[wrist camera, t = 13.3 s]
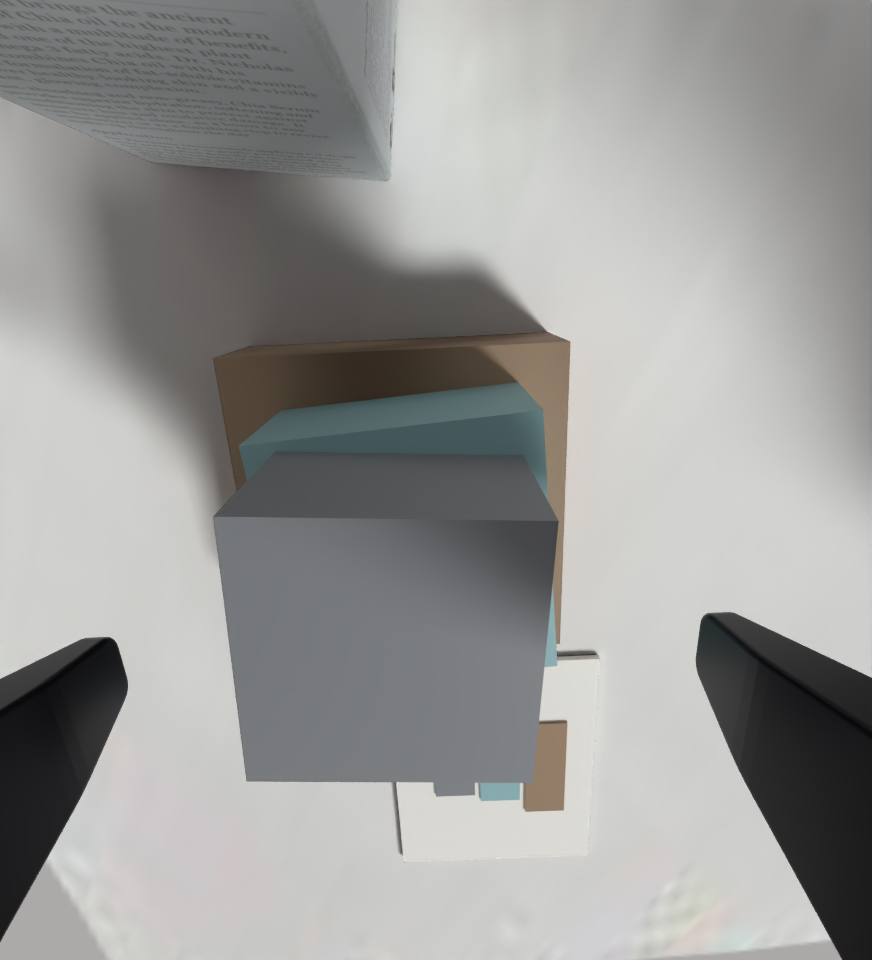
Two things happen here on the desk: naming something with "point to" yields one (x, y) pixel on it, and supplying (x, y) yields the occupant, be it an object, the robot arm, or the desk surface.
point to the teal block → (416, 434)
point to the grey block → (388, 616)
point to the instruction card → (517, 787)
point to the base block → (401, 388)
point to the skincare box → (213, 79)
